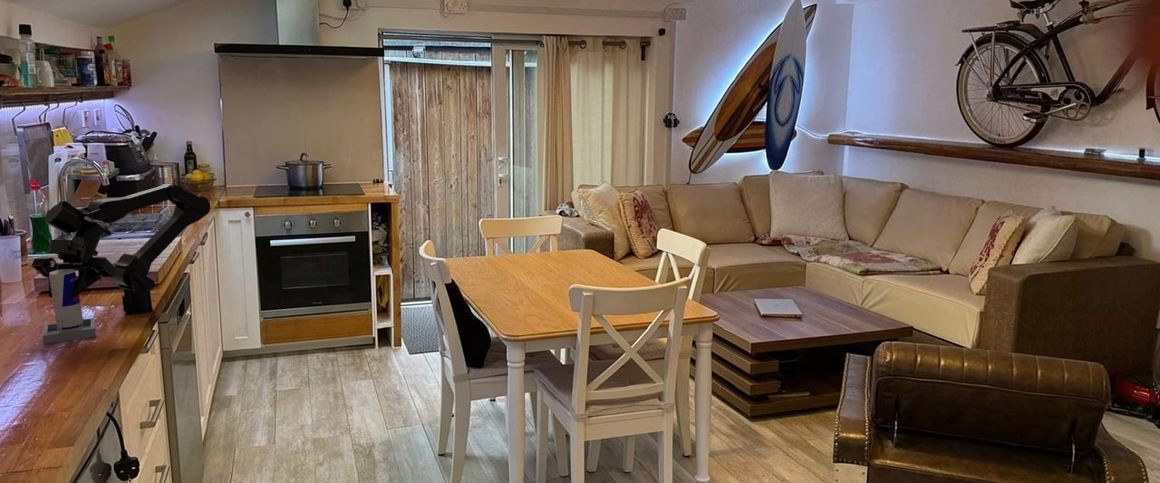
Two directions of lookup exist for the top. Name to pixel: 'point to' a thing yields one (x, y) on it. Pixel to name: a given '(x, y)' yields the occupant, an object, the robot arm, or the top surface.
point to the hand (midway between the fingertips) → (61, 297)
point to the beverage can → (65, 300)
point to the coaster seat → (68, 332)
